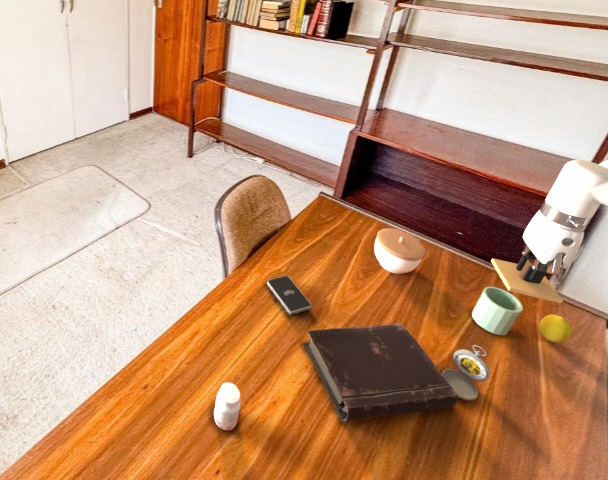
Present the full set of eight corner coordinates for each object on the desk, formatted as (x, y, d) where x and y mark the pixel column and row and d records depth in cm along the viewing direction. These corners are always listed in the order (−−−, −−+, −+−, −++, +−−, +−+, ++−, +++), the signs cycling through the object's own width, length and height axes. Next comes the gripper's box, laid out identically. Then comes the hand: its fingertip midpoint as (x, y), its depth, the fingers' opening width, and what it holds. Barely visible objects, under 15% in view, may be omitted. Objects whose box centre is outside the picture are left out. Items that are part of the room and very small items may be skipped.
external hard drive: (286, 280, 114) (287, 274, 113) (311, 311, 105) (312, 306, 104) (265, 285, 112) (266, 280, 111) (289, 318, 103) (290, 312, 102)
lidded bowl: (366, 268, 120) (376, 239, 115) (372, 244, 129) (382, 217, 125) (414, 288, 113) (426, 259, 109) (416, 261, 123) (428, 234, 118)
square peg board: (538, 272, 98) (549, 253, 95) (561, 303, 89) (574, 284, 86) (490, 261, 100) (500, 242, 98) (508, 290, 92) (519, 271, 89)
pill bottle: (237, 408, 82) (242, 383, 79) (236, 434, 78) (242, 408, 74) (214, 402, 83) (218, 377, 80) (212, 427, 79) (217, 402, 75)
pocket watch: (445, 395, 87) (462, 365, 82) (434, 360, 94) (450, 331, 90) (489, 409, 84) (509, 380, 80) (475, 373, 91) (492, 344, 87)
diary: (453, 412, 83) (461, 397, 81) (343, 426, 80) (350, 411, 78) (393, 332, 100) (399, 318, 98) (301, 341, 97) (305, 327, 95)
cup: (501, 314, 106) (514, 291, 103) (514, 339, 100) (529, 316, 96) (467, 305, 109) (479, 283, 105) (477, 329, 102) (491, 306, 98)
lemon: (562, 339, 100) (577, 317, 97) (562, 354, 96) (578, 332, 93) (533, 325, 104) (547, 304, 100) (532, 339, 100) (547, 317, 96)
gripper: (611, 243, 78) (566, 308, 86) (564, 197, 92) (529, 257, 100) (564, 233, 80) (524, 297, 88) (525, 190, 94) (494, 249, 102)
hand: (527, 275), depth 94 cm, fingers closed on square peg board, 2 cm apart
